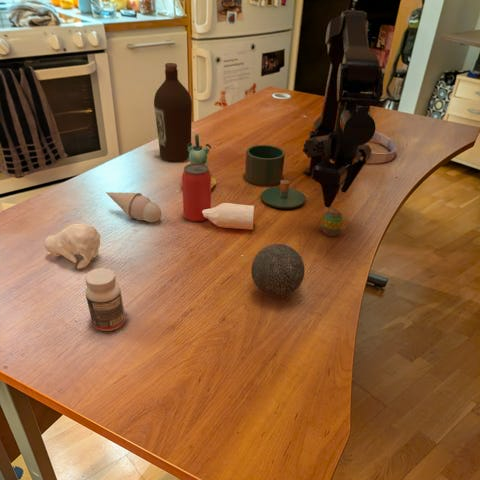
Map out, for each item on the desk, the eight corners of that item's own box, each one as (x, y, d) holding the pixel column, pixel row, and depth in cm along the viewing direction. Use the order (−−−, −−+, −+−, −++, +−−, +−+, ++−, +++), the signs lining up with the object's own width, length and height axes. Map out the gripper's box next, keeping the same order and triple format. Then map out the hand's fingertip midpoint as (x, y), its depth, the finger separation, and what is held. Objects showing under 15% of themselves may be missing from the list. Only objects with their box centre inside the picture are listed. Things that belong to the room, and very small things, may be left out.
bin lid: (274, 187, 126) (276, 168, 123) (312, 198, 122) (314, 179, 118) (253, 202, 119) (254, 183, 115) (292, 215, 114) (294, 195, 111)
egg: (318, 235, 107) (322, 211, 103) (322, 225, 111) (326, 202, 107) (338, 239, 106) (343, 216, 102) (342, 229, 109) (347, 206, 106)
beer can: (206, 224, 109) (206, 175, 101) (180, 220, 110) (177, 172, 102) (213, 211, 114) (213, 164, 106) (188, 208, 115) (186, 160, 107)
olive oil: (187, 148, 145) (183, 58, 129) (198, 160, 138) (196, 67, 122) (154, 151, 142) (146, 60, 125) (163, 164, 134) (156, 69, 118)
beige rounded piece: (81, 234, 87) (28, 228, 90) (92, 272, 92) (42, 265, 95) (99, 219, 91) (48, 213, 94) (108, 256, 97) (60, 249, 100)
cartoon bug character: (171, 200, 118) (168, 139, 109) (188, 178, 133) (187, 124, 124) (207, 203, 117) (208, 143, 108) (221, 182, 132) (222, 127, 123)
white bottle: (204, 218, 111) (203, 196, 108) (253, 221, 111) (255, 200, 107) (200, 230, 107) (199, 208, 103) (251, 234, 106) (253, 212, 103)
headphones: (325, 158, 143) (390, 173, 139) (331, 135, 138) (398, 150, 134) (337, 135, 159) (395, 148, 155) (342, 114, 154) (402, 127, 151)
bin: (257, 167, 136) (258, 142, 131) (288, 176, 132) (291, 150, 127) (238, 179, 129) (239, 153, 124) (270, 189, 125) (273, 162, 120)
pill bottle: (95, 311, 83) (85, 266, 77) (127, 310, 84) (119, 265, 77) (90, 332, 79) (79, 286, 73) (123, 332, 80) (115, 285, 73)
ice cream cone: (106, 207, 113) (159, 230, 110) (94, 201, 107) (149, 225, 104) (116, 184, 113) (169, 206, 110) (104, 176, 107) (159, 200, 104)
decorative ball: (263, 313, 85) (267, 268, 78) (241, 282, 92) (244, 239, 85) (310, 301, 88) (318, 257, 82) (286, 272, 95) (291, 230, 88)
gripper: (331, 109, 102) (320, 176, 112) (292, 131, 90) (284, 204, 100) (379, 119, 98) (363, 188, 108) (345, 144, 86) (331, 219, 96)
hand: (335, 199), depth 103 cm, fingers open, 9 cm apart
